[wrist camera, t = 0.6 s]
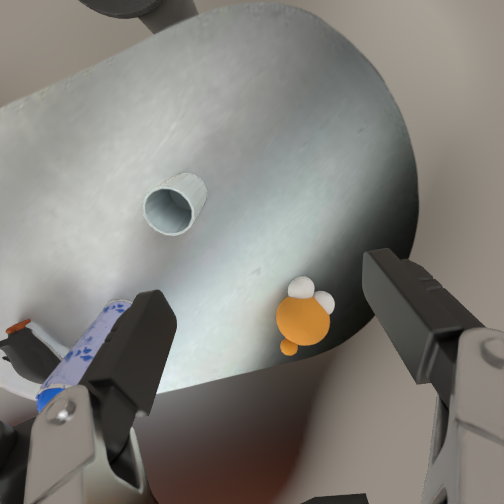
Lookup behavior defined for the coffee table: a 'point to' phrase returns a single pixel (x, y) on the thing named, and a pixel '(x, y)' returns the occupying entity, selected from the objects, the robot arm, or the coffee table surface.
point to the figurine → (29, 353)
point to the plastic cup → (175, 204)
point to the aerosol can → (81, 353)
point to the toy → (303, 315)
